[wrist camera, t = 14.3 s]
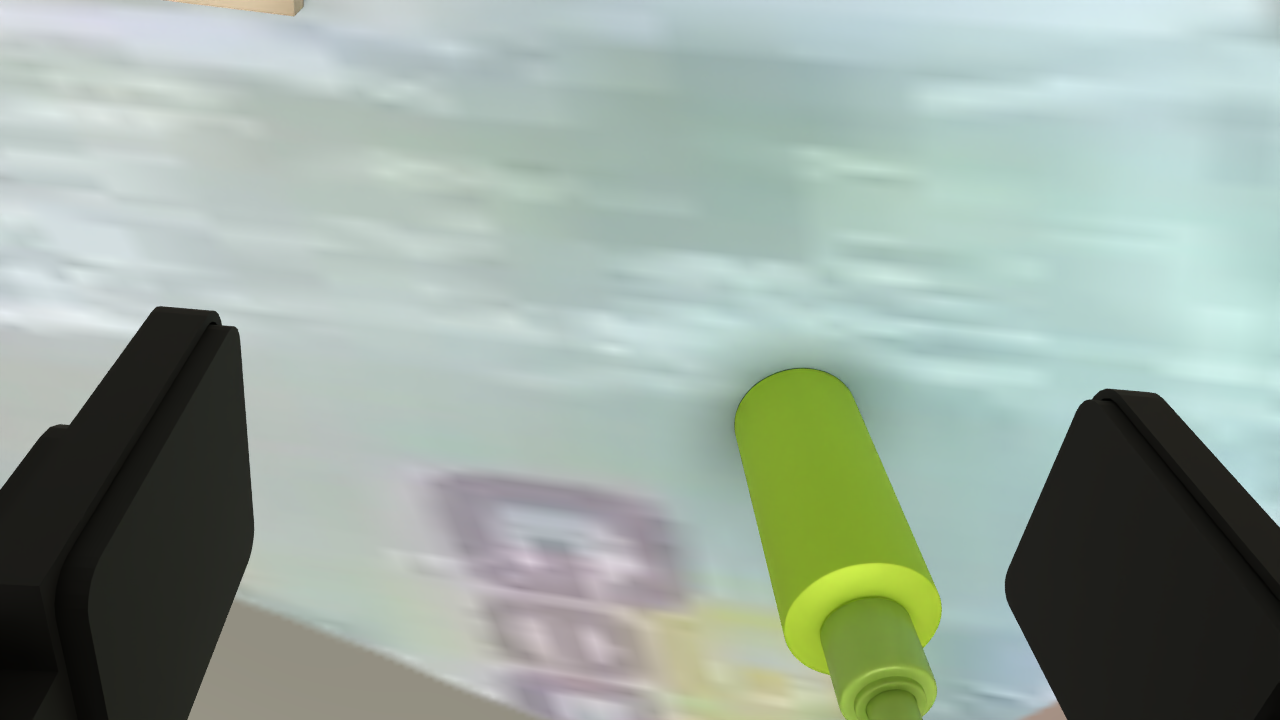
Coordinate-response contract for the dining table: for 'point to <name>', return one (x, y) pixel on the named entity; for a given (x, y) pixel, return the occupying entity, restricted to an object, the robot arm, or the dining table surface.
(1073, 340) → the dining table surface
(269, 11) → the board
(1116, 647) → the robot arm
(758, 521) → the soap dispenser
